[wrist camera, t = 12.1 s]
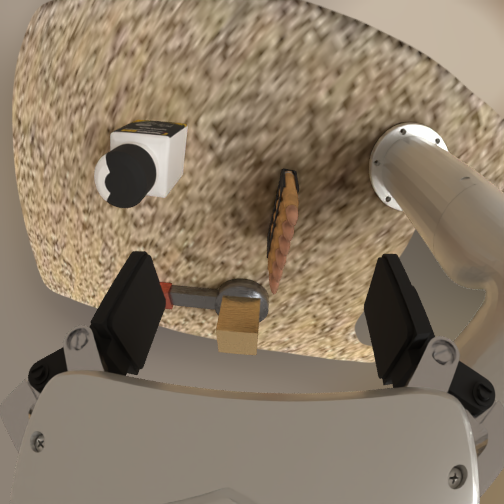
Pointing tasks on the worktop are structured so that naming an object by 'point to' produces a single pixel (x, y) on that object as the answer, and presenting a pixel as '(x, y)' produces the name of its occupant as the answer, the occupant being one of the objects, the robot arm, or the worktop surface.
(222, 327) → the wooden block
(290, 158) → the worktop surface
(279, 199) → the ammunition clip
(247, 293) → the ratchet
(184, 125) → the medicine bottle
